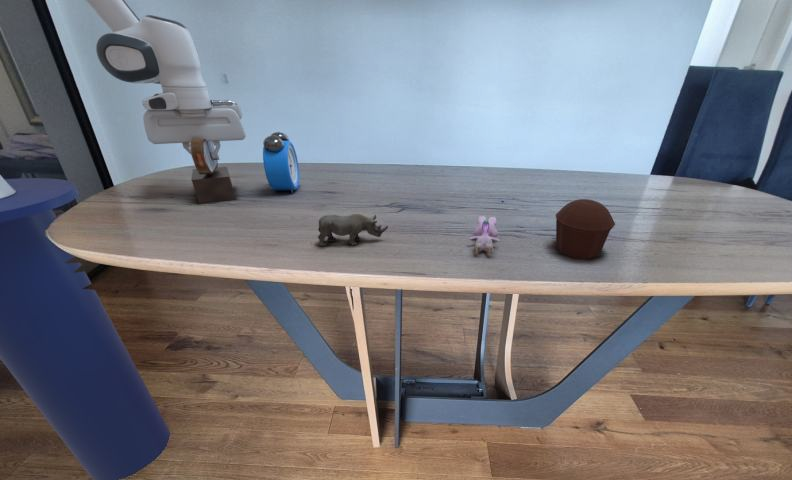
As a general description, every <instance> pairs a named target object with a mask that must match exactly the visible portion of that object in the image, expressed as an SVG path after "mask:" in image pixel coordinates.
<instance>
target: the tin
mask: <svg viewBox="0 0 792 480" xmlns="http://www.w3.org/2000/svg"><path fill="white" fill-rule="evenodd" d="M189 148H190V149H191V154H192V155H191V154H190V155H191V158H193V159H192V161H193V164H194V167H195V169H197V171H198V173H199V174H200V175H202V174H212V173H213V172H214V171H215V169H216V168H217V167H219V162H218V161H219V160H213V159H212V155H211V152H214V151H215V146H214V143H213V141H211V142H206V139H194V138H192V139H191V141H190V147H189Z"/></svg>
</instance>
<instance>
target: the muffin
mask: <svg viewBox="0 0 792 480" xmlns="http://www.w3.org/2000/svg"><path fill="white" fill-rule="evenodd" d="M555 219H556V220H555V237H556V238H555V248H556V249H557V250H558V251H559V253H560V254H562V255H565V256H568V257H570V258H572V259H582V260H591V259H594V258H600V255H601V253H602V251H603V248H604V246H605V243H606V241H607V239H608V237H609V234H610V232H611V230H612V229H613V228H614V227H615V226H616V222H615V221H614V218H613V216H612V214H611V213H610V211H609V209H608V208H607V207H606V206H605V205H604V204H603V203H601V202H599V201H596V200H593V199H588V198H585V199H584V198H578V199H574V200H572V201H570V202H568V203H567V204H565V205H564V206H563V207H562V208H560V209H559V211H558V212H557V213H556V214H555Z"/></svg>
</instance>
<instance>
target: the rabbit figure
mask: <svg viewBox="0 0 792 480" xmlns="http://www.w3.org/2000/svg"><path fill="white" fill-rule="evenodd" d="M476 222H477V223H476V224H477V226H476V227H475V229H474V230H473V232H472V233H473V236H471V237H469V238H468V240H469V241H473V240H475V242H474V254H475V256H477V255H480V253H481V252H483V251H484V252H485V253H486V255H488V256H492V253H491V252H492V251H493V248H494V244H493V241H495V242H497V243H500V242H501V240H500V239H499V238H497V236H498V235H499V232H498V230H497V228H496V226H497V223H498V220H497V218H496V216H490V217H488V219H487V217H486V216H484V215H480V216H479V217H478V218H477V219H476Z"/></svg>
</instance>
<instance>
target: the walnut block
mask: <svg viewBox="0 0 792 480" xmlns="http://www.w3.org/2000/svg"><path fill="white" fill-rule="evenodd" d="M191 171H192V172H191V181H192V182H191V183H192V185H193V188H194V189H193V190H194V192H195V195H196V198H197V201H198V204H199V205H201V204H211V203H219V202H220V203H221V202H227V201H235V200H236V199H237V198H236V195H235V191H234V187H233V184H232V183H233V182H232V180H231V179H232V178H231V176H230V172H229V168H228V166H217V168H216V169H215V171H214V172H213V173H212V174H202V175H200V174H199V173H198V171H197V169H196V168H193V169H192V170H191Z"/></svg>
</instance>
